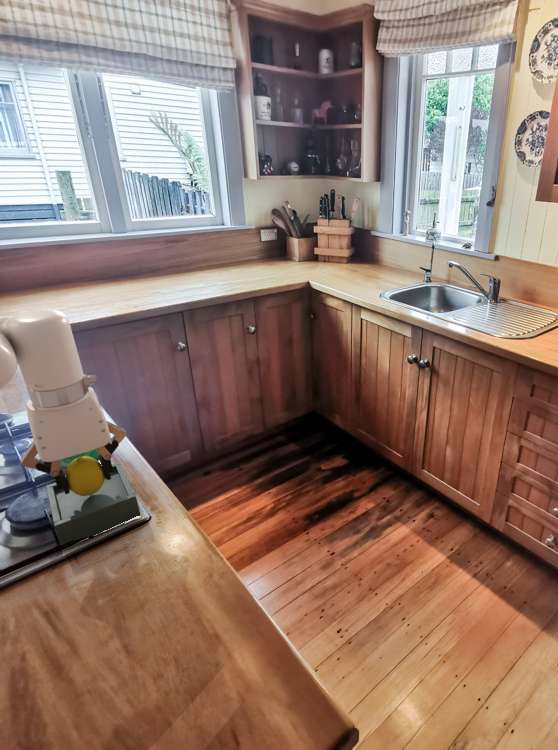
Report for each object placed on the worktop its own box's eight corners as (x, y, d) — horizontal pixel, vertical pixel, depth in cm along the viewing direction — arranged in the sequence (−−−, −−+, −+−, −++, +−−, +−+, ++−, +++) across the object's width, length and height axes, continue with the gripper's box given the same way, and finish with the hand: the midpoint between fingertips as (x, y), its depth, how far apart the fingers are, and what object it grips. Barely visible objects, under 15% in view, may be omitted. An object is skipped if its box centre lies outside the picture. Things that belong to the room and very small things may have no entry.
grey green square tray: (62, 549, 76) (54, 526, 73) (53, 507, 84) (45, 485, 82) (141, 518, 82) (136, 496, 80) (125, 482, 91) (120, 461, 88)
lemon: (97, 480, 85) (86, 444, 81) (115, 491, 82) (105, 454, 79) (66, 497, 80) (53, 460, 77) (84, 510, 78) (72, 472, 74)
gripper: (114, 368, 79) (135, 454, 87) (-12, 395, 70) (25, 489, 78) (125, 385, 74) (146, 475, 82) (-10, 417, 64) (29, 516, 73)
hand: (87, 481), depth 80 cm, fingers closed on lemon, 5 cm apart
